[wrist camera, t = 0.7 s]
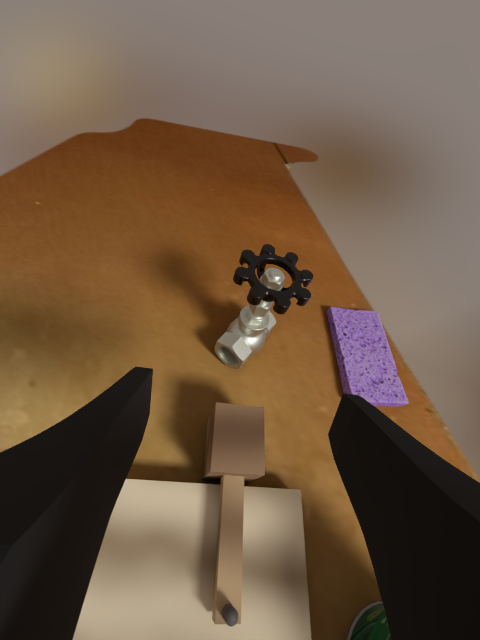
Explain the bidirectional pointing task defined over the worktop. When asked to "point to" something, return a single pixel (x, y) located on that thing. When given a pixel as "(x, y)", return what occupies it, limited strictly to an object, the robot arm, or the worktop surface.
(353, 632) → the canned tomato
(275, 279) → the valve
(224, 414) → the mallet
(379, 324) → the sponges
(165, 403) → the worktop surface
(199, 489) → the board
